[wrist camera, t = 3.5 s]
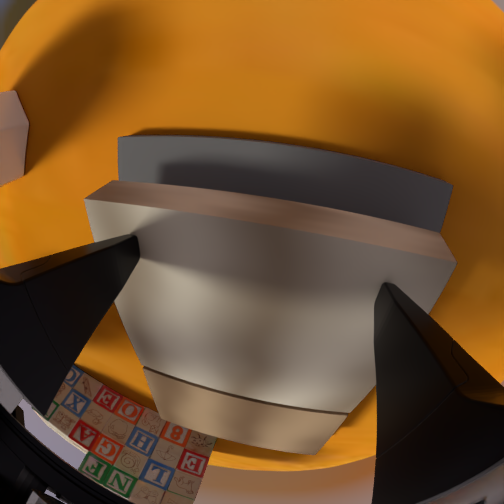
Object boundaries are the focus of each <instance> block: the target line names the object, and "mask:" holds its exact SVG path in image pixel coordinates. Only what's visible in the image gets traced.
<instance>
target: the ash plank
mask: <svg viewBox="0 0 504 504" xmlns="http://www.w3.org/2000/svg"><path fill="white" fill-rule="evenodd" d="M84 201H85V206H86V210H87V215H88V219H89V223H90V227H91V231H92V234H93V238H94V242H99V241H103V240H106V239H110V238H114V237H118V236H122V235H126V234H131V235H136V236H137V238H138V242H139V248H140V260H139V262H138V264H137V265H136V267H135V269H134V270H133V272H132V274H131V275H130V277H129V279H128V281H127V282H126V284H125V286H124V287H123V289H122V291H121V292H120V293H119V295H118V296H117V298H116V299H115V301H114V302H115V305H116V307H117V310H118V312H119V315H120V317H121V320H122V322H123V325H124V327H125V329H126V332H127V334H128V336H129V339H130V341H131V343H132V345H133V348H134V350H135V352H136V354H137V356H138V358H139V360H140V362H141V364H142V365H143V366H146V367H149V368H151V369H154V370H157V371H159V372H162V373H165V374H168V375H171V376H174V377H177V378H180V379H183V380H186V381H189V382H192V383H196V384H199V385H202V386H206V387H209V388H213V389H216V390H220V391H224V392H228V393H232V394H236V395H240V396H244V397H248V398H253V399H258V400H262V401H267V402H272V403H278V404H283V405H289V406H296V407H302V408H309V409H317V410H325V411H335V412H346V413H350V412H351V411H352V410H353V409H354V408H355V407H356V406H357V405H358V404H359V403H360V402H361V401H362V400H363V399H364V397H365V396H366V395H367V394H368V393H369V392H370V391H371V390H372V389H373V387H374V386H375V385H376V371H375V357H374V303H375V300H376V298H377V295H378V293H379V290H380V288H381V285H382V284H383V283H384V282H388V283H393V284H395V285H396V286H397V287H398V288H400V289H401V290H402V291H403V292H404V293H405V294H406V295H407V296H409V297H410V298H411V299H412V300H413V301H414V302H415V303H416V304H417V305H418V306H420V307H421V308H422V309H423V310H424V311H425V312H426V313H427V314H429V312H430V311H431V309H432V308H433V306H434V304H435V303H436V301H437V299H438V298H439V296H440V294H441V292H442V291H443V289H444V287H445V285H446V284H447V282H448V280H449V278H450V276H451V274H452V272H453V271H454V269H455V267H456V265H457V261H456V260H455V258H454V256H453V254H452V253H451V251H450V249H449V248H448V246H447V244H446V243H445V241H444V239H443V238H442V236H441V235H440V233H438V232H434V231H430V230H426V229H422V228H418V227H414V226H410V225H406V224H402V223H398V222H394V221H389V220H385V219H380V218H376V217H371V216H367V215H362V214H357V213H352V212H348V211H343V210H338V209H332V208H327V207H322V206H316V205H311V204H305V203H300V202H294V201H288V200H282V199H276V198H269V197H263V196H256V195H249V194H242V193H235V192H227V191H220V190H212V189H203V188H195V187H186V186H176V185H166V184H155V183H143V182H130V181H116V180H112V181H111V182H109V183H108V184H106V185H104V186H103V187H101V188H100V189H98V190H97V191H95V192H94V193H92V194H91V195H89V196H88V197H86V198H85V199H84Z"/></svg>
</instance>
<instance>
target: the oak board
mask: <svg viewBox="0 0 504 504" xmlns="http://www.w3.org/2000/svg"><path fill="white" fill-rule="evenodd" d="M143 370H144V373H145V376H146V379H147V382H148V385H149V388H150V391H151V394H152V396H153V399H154V402H155V404H156V407H157V410H158V412H159V415H160V417H161V419H163V420H166V421H169V422H171V423H174V424H177V425H180V426H183V427H185V428H188V429H192V430H195V431H198V432H201V433H204V434H208V435H211V436H215V437H218V438H222V439H226V440H230V441H234V442H238V443H242V444H246V445H251V446H256V447H261V448H266V449H272V450H278V451H284V452H291V453H299V454H307V455H315V454H316V453H317V452H318V451H319V450H320V449H321V448H322V447H323V445H324V444H325V443H326V442H327V441H328V440H329V438H330V437H331V436H332V435H333V434H334V432H335V431H336V430H337V429H338V427H339V426H340V425H341V424H342V422H343V421H344V420H345V419H346V417H347V416H348V413H346V412H335V411H325V410H317V409H309V408H302V407H296V406H289V405H283V404H278V403H272V402H267V401H262V400H258V399H253V398H248V397H244V396H240V395H236V394H232V393H228V392H224V391H220V390H216V389H213V388H209V387H206V386H202V385H199V384H196V383H192V382H189V381H186V380H183V379H180V378H177V377H174V376H171V375H168V374H165V373H162V372H159V371H157V370H154V369H151V368H149V367H146V366H144V367H143Z"/></svg>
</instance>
